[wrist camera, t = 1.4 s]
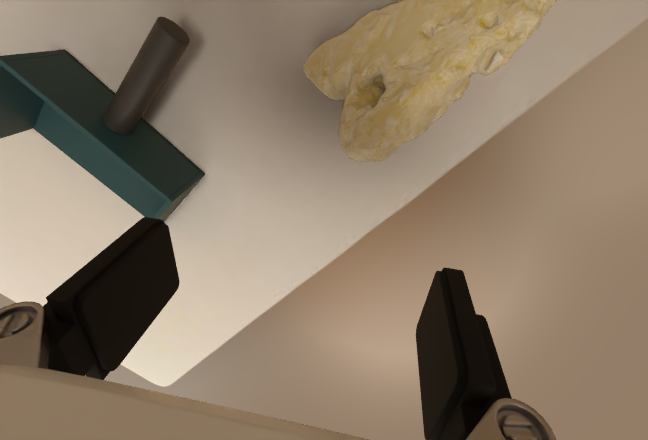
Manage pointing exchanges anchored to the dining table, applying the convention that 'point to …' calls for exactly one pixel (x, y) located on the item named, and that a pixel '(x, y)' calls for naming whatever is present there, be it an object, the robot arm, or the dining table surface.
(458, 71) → the cream irregular lump
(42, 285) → the dining table surface
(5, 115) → the dustpan
